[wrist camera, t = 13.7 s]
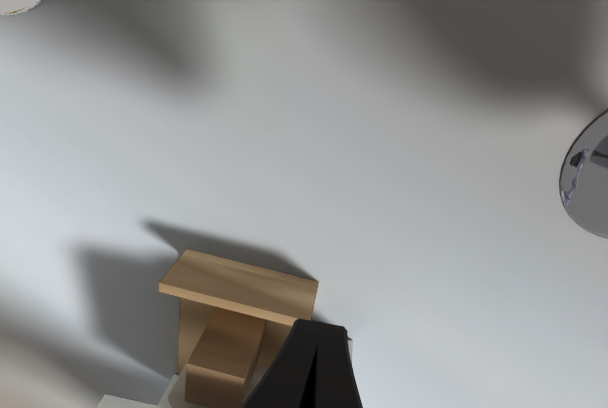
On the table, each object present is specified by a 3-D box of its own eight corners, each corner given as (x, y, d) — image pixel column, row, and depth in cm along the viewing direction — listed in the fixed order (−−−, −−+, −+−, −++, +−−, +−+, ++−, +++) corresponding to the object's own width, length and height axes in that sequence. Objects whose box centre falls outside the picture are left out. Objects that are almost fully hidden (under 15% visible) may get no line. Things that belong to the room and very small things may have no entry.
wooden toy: (290, 392, 27) (272, 477, 22) (183, 364, 27) (141, 440, 22) (319, 277, 22) (304, 353, 17) (189, 245, 22) (137, 309, 18)
